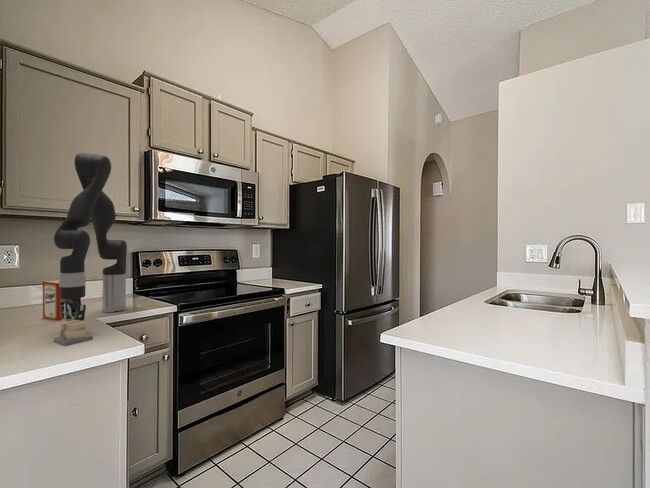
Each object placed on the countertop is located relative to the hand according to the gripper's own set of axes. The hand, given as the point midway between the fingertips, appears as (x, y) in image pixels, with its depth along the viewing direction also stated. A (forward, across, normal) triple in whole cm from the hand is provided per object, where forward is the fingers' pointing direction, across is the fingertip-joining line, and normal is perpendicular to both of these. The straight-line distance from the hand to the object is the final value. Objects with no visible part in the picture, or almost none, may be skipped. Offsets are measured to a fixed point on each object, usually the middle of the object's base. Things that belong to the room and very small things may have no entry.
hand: (72, 330), depth 120 cm
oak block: (-1, -10, +4) cm, 11 cm away
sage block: (+1, 0, 0) cm, 1 cm away
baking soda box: (+1, +29, -7) cm, 30 cm away
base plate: (+1, -10, +4) cm, 11 cm away
